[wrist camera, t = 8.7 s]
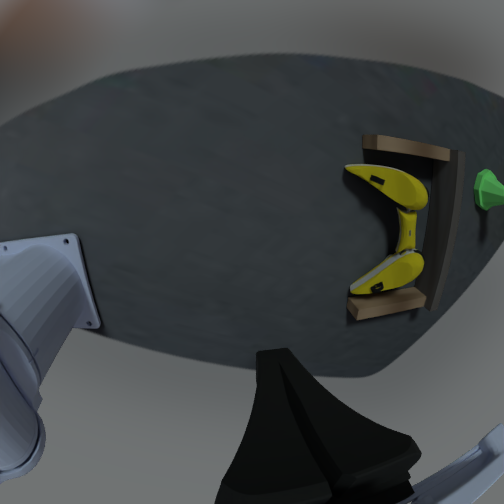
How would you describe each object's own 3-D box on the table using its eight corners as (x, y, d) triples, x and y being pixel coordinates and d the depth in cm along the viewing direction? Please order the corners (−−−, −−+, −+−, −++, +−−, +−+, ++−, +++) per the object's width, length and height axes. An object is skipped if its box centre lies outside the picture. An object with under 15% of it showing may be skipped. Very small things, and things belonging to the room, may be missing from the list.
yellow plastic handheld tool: (415, 273, 22) (426, 294, 18) (348, 277, 23) (351, 299, 20) (418, 160, 18) (434, 165, 15) (342, 162, 20) (346, 168, 17)
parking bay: (346, 307, 22) (361, 327, 20) (362, 134, 17) (385, 134, 15) (419, 294, 24) (437, 309, 21) (441, 148, 18) (465, 152, 16)
